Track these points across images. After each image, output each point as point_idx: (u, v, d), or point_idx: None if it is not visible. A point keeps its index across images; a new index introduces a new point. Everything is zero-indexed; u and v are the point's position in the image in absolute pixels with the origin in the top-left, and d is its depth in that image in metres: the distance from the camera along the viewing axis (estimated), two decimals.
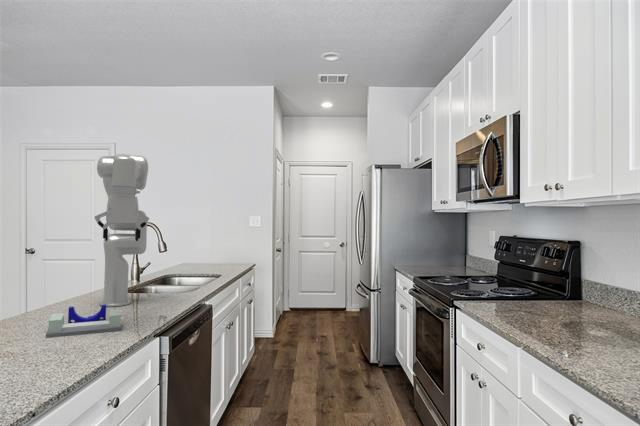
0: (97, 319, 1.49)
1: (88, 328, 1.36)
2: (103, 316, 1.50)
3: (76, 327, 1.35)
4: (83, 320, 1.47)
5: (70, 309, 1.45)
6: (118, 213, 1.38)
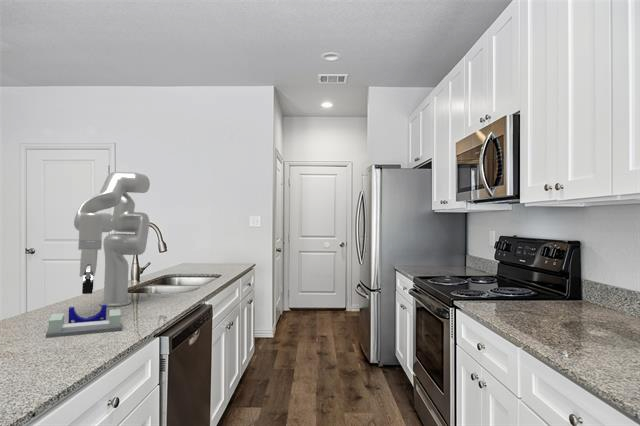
0: (97, 319, 1.48)
1: (88, 328, 1.36)
2: (103, 316, 1.49)
3: (76, 327, 1.35)
4: (83, 320, 1.46)
5: (70, 309, 1.44)
6: None
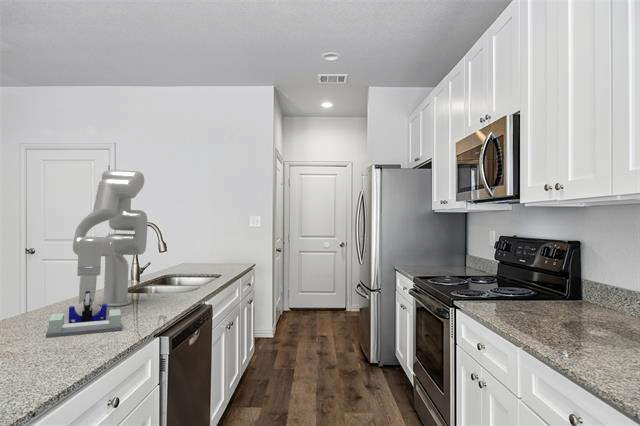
0: (98, 319, 1.49)
1: (88, 328, 1.36)
2: (104, 315, 1.50)
3: (76, 327, 1.35)
4: None
5: (71, 309, 1.45)
6: None
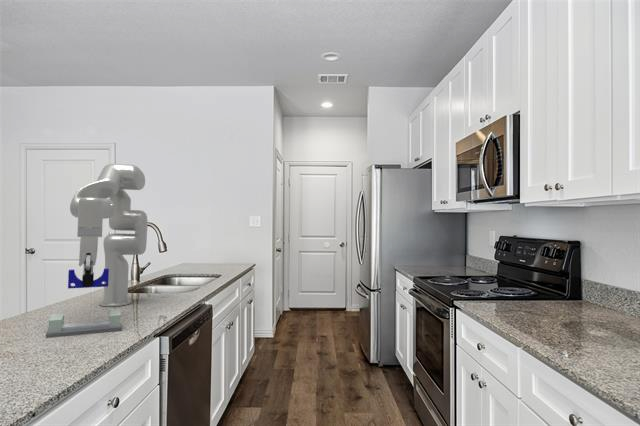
0: (99, 283, 1.39)
1: (88, 328, 1.36)
2: (106, 280, 1.40)
3: (76, 327, 1.35)
4: None
5: (70, 271, 1.35)
6: (96, 255, 1.39)
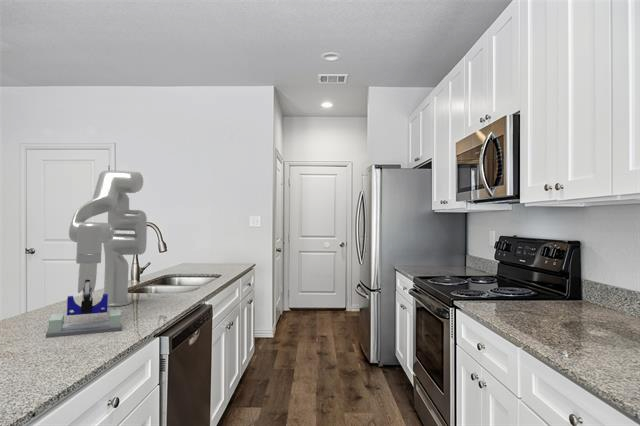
0: (98, 309, 1.39)
1: (88, 328, 1.36)
2: (105, 306, 1.40)
3: (76, 327, 1.35)
4: None
5: (69, 298, 1.35)
6: (95, 281, 1.39)
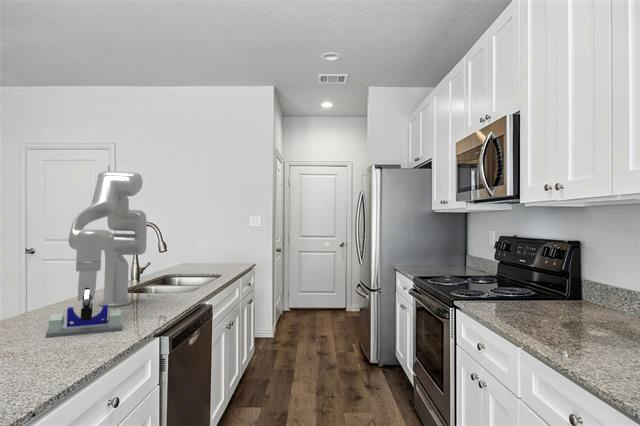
0: (98, 320, 1.39)
1: (88, 328, 1.36)
2: (104, 317, 1.40)
3: (76, 327, 1.35)
4: (83, 322, 1.37)
5: (69, 310, 1.35)
6: (95, 288, 1.39)
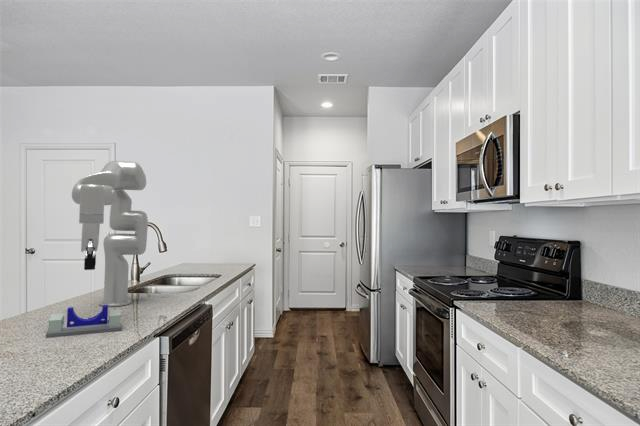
0: (98, 321, 1.38)
1: (88, 328, 1.36)
2: (105, 317, 1.39)
3: (76, 327, 1.35)
4: (83, 322, 1.36)
5: (69, 310, 1.34)
6: (98, 241, 1.41)
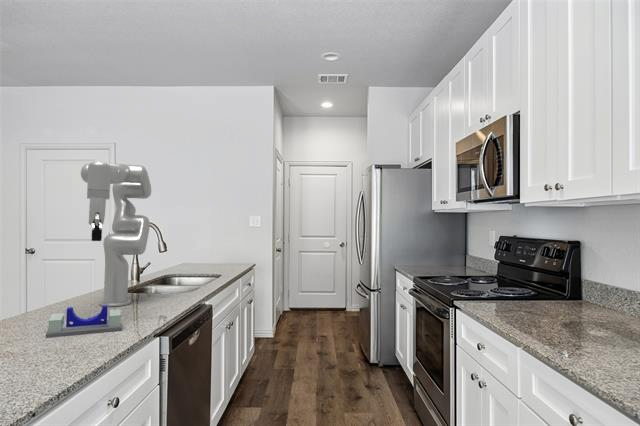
0: (97, 321, 1.38)
1: (88, 328, 1.36)
2: (104, 318, 1.39)
3: (76, 327, 1.35)
4: (82, 322, 1.36)
5: (68, 310, 1.34)
6: (104, 215, 1.52)
